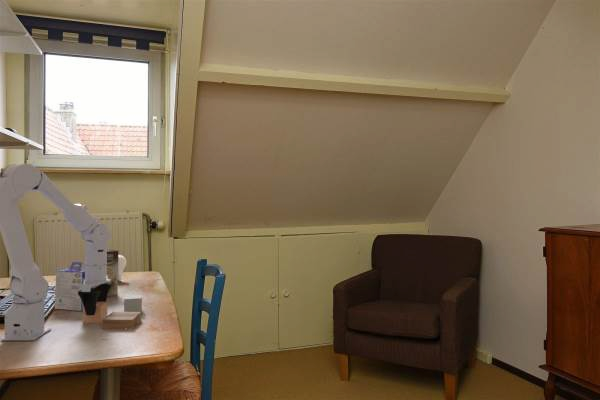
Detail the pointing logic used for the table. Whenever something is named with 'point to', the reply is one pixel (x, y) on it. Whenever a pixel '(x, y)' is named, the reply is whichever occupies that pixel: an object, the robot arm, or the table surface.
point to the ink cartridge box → (69, 288)
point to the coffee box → (112, 271)
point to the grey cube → (133, 303)
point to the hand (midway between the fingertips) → (95, 311)
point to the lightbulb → (121, 265)
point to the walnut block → (121, 320)
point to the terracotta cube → (96, 314)
